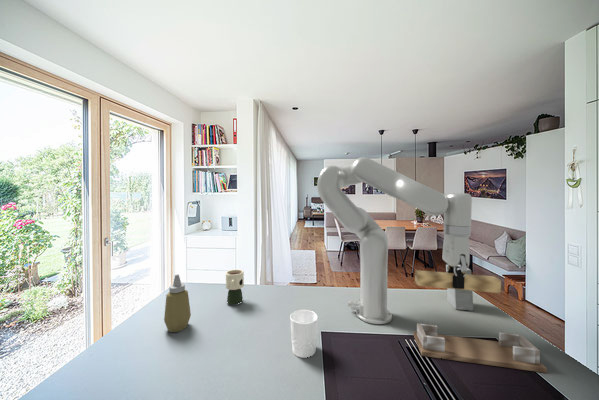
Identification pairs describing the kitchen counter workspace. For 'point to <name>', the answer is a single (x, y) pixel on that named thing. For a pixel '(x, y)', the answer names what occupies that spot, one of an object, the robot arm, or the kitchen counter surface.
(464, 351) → the end cap frame
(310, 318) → the white cup
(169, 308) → the squeeze bottle
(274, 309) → the kitchen counter surface
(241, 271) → the character mug
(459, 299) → the skincare box
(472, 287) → the slat
